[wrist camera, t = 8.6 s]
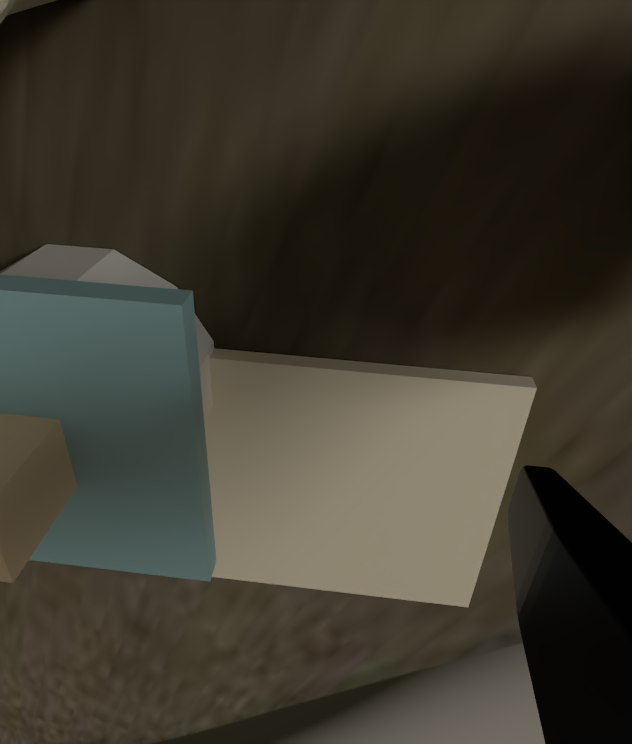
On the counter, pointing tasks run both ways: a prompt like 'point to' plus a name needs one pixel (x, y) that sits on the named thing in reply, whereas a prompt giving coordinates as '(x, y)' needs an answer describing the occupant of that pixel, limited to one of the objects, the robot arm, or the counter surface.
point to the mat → (358, 472)
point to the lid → (102, 430)
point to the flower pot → (18, 6)
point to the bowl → (108, 270)
